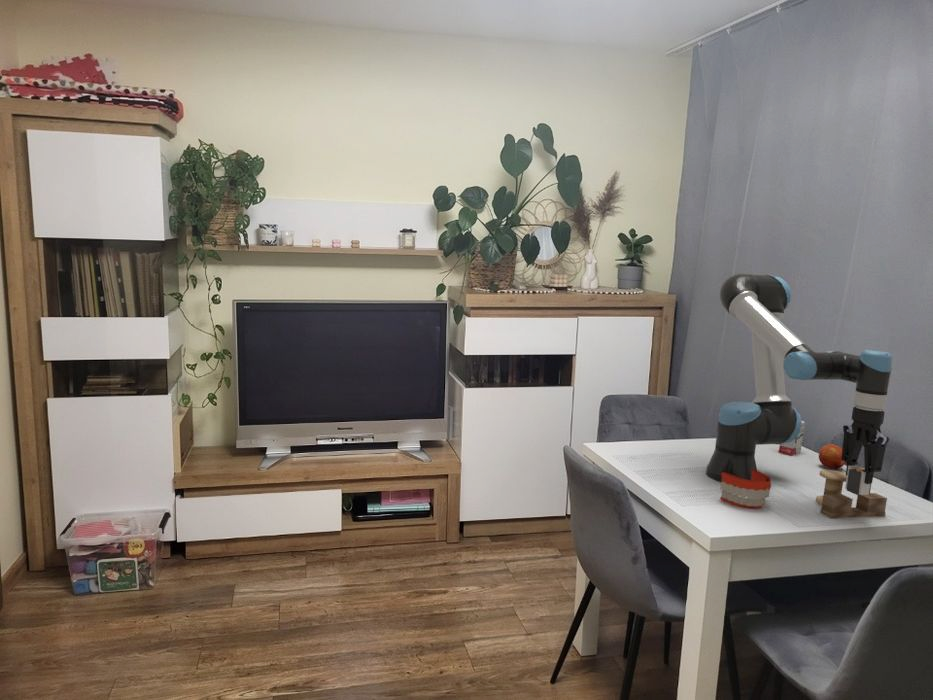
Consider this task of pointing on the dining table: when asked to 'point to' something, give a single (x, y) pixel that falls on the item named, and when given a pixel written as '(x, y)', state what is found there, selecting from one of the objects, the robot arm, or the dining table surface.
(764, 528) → the dining table surface
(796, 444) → the ink box
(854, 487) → the dark grey rectangular block
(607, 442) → the dining table surface
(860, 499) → the brown wooden u-shaped block
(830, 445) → the apple
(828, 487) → the wooden spool
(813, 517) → the dining table surface
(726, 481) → the toy
